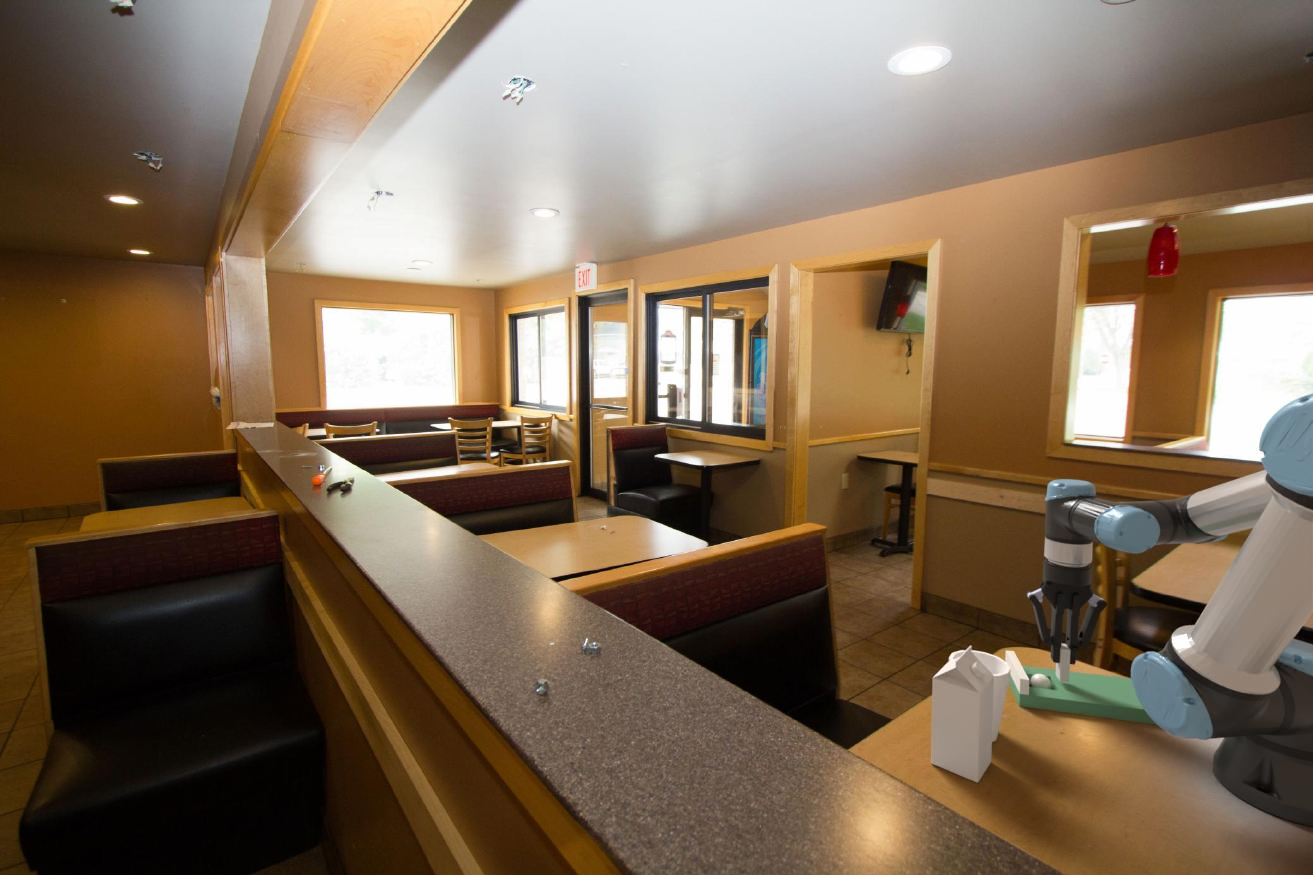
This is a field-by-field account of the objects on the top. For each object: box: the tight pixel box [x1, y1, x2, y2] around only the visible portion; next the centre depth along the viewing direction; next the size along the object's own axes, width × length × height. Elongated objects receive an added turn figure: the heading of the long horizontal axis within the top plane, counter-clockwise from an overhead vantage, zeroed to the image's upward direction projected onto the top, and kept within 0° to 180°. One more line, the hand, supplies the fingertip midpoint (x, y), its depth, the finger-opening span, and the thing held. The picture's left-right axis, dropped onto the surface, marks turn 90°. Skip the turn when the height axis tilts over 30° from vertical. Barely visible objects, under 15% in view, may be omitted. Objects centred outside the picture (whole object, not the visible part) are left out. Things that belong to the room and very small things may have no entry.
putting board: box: [1004, 650, 1157, 725], centre depth 115 cm, size 12×22×6 cm, turn 71°
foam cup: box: [948, 649, 1010, 743], centre depth 105 cm, size 10×9×13 cm
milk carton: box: [930, 645, 994, 784], centre depth 96 cm, size 7×7×19 cm
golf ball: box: [1030, 674, 1051, 689], centre depth 117 cm, size 4×4×4 cm
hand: (1062, 678), depth 115 cm, fingers closed
